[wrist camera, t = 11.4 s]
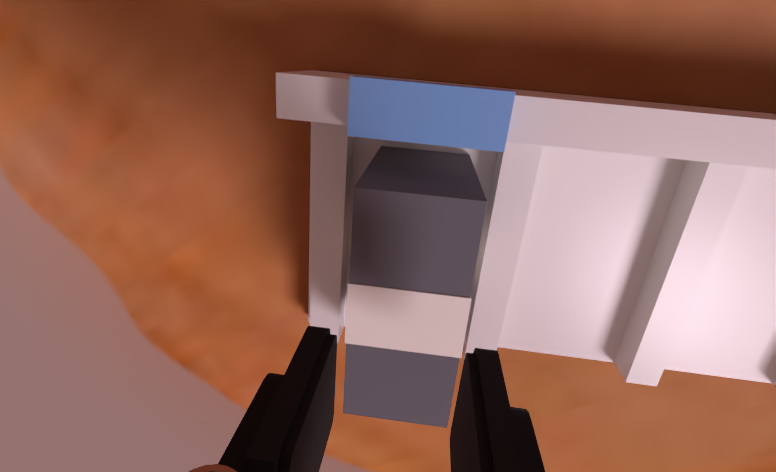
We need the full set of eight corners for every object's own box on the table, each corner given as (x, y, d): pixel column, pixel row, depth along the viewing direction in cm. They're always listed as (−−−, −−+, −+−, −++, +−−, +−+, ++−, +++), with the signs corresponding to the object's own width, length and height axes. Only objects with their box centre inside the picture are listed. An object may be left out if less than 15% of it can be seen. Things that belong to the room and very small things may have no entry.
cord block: (380, 145, 19) (352, 187, 13) (470, 154, 19) (489, 202, 12) (368, 312, 23) (341, 414, 16) (444, 322, 22) (448, 429, 16)
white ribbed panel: (314, 66, 19) (262, 68, 13) (956, 126, 17) (1218, 158, 11) (310, 316, 24) (271, 396, 18) (805, 381, 22) (933, 492, 16)
